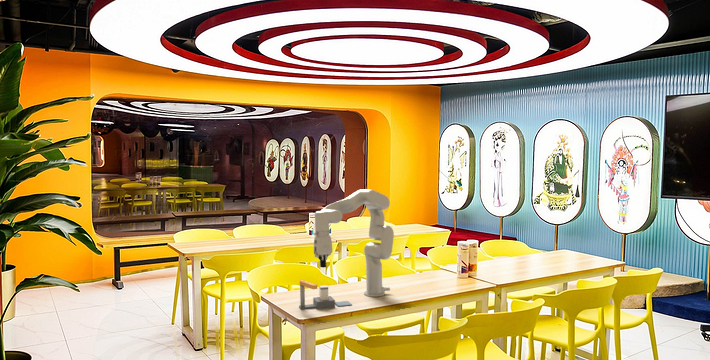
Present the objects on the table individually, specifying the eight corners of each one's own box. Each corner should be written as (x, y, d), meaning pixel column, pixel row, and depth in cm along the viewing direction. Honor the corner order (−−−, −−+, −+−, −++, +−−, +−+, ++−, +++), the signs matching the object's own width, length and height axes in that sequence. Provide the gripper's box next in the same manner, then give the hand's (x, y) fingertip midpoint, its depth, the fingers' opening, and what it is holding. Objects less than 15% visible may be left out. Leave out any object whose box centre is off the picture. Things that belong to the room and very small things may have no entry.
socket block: (330, 303, 286) (330, 280, 285) (335, 307, 276) (334, 284, 276) (298, 306, 280) (298, 283, 280) (301, 310, 271) (301, 287, 271)
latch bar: (317, 288, 265) (317, 284, 265) (312, 289, 263) (312, 285, 263) (303, 283, 278) (303, 280, 278) (298, 284, 276) (298, 280, 276)
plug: (326, 304, 282) (326, 285, 282) (328, 306, 278) (328, 286, 278) (319, 305, 281) (319, 285, 281) (321, 307, 277) (320, 287, 277)
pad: (348, 301, 287) (348, 300, 287) (352, 305, 280) (352, 304, 280) (334, 303, 285) (334, 302, 285) (338, 306, 278) (338, 305, 278)
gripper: (316, 235, 266) (317, 270, 267) (337, 232, 277) (337, 265, 277) (307, 234, 272) (308, 268, 272) (328, 231, 282) (328, 264, 283)
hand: (323, 267), depth 275 cm, fingers closed
